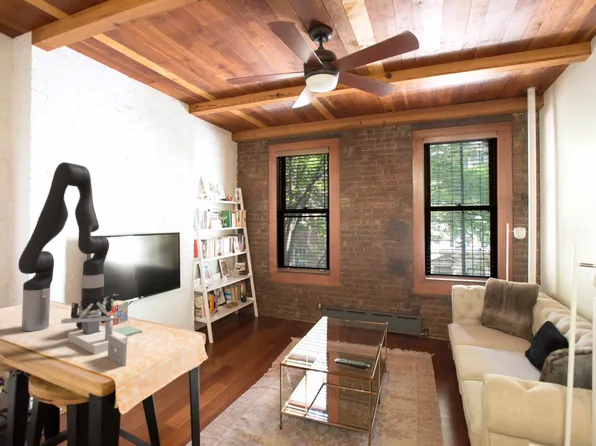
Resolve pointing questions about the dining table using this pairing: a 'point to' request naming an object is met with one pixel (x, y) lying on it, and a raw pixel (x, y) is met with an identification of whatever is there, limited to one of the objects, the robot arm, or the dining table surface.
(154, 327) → the dining table surface
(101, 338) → the socket block
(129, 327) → the mat
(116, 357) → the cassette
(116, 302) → the stack of blocks
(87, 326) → the plug
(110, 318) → the clip
